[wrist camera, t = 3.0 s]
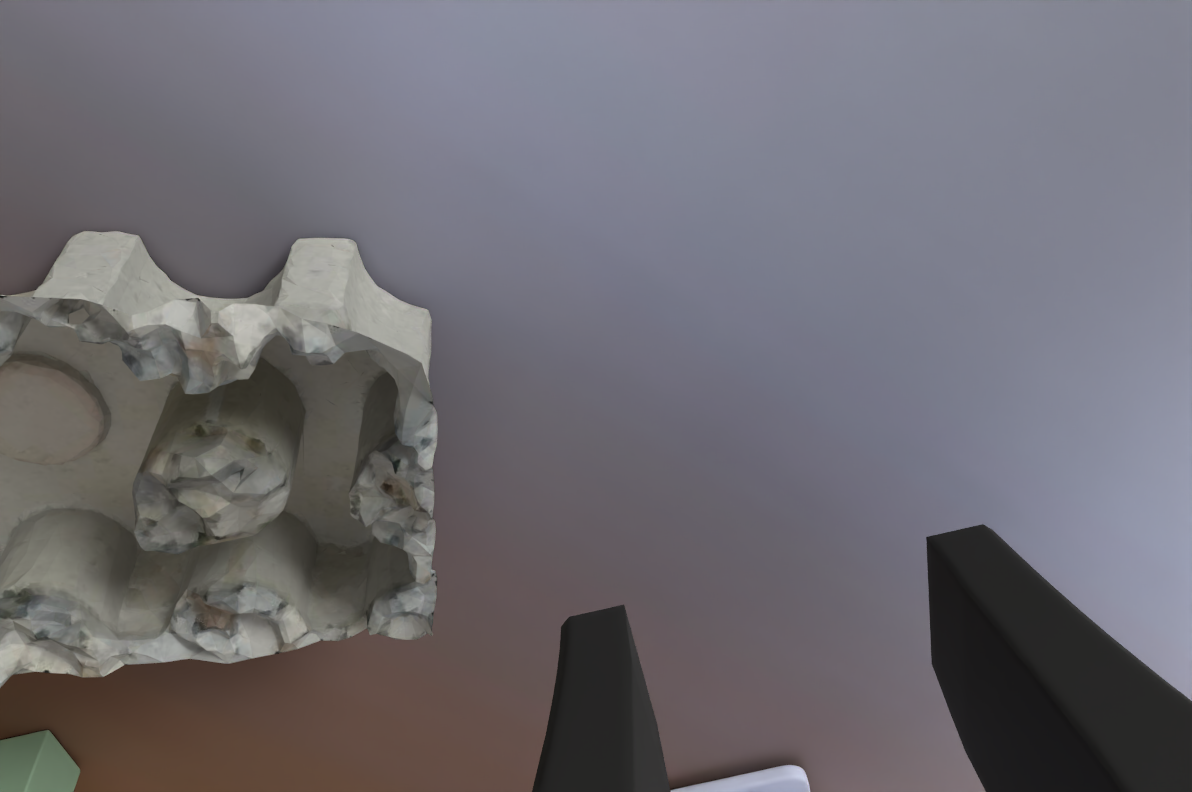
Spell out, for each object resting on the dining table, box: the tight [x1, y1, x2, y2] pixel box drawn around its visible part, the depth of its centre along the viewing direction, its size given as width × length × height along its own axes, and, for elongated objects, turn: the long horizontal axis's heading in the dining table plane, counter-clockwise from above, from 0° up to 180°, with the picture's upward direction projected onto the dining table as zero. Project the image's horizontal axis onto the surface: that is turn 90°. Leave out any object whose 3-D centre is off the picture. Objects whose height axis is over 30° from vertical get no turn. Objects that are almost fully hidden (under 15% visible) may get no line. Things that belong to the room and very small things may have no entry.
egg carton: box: [0, 231, 437, 687], centre depth 18 cm, size 11×8×4 cm
